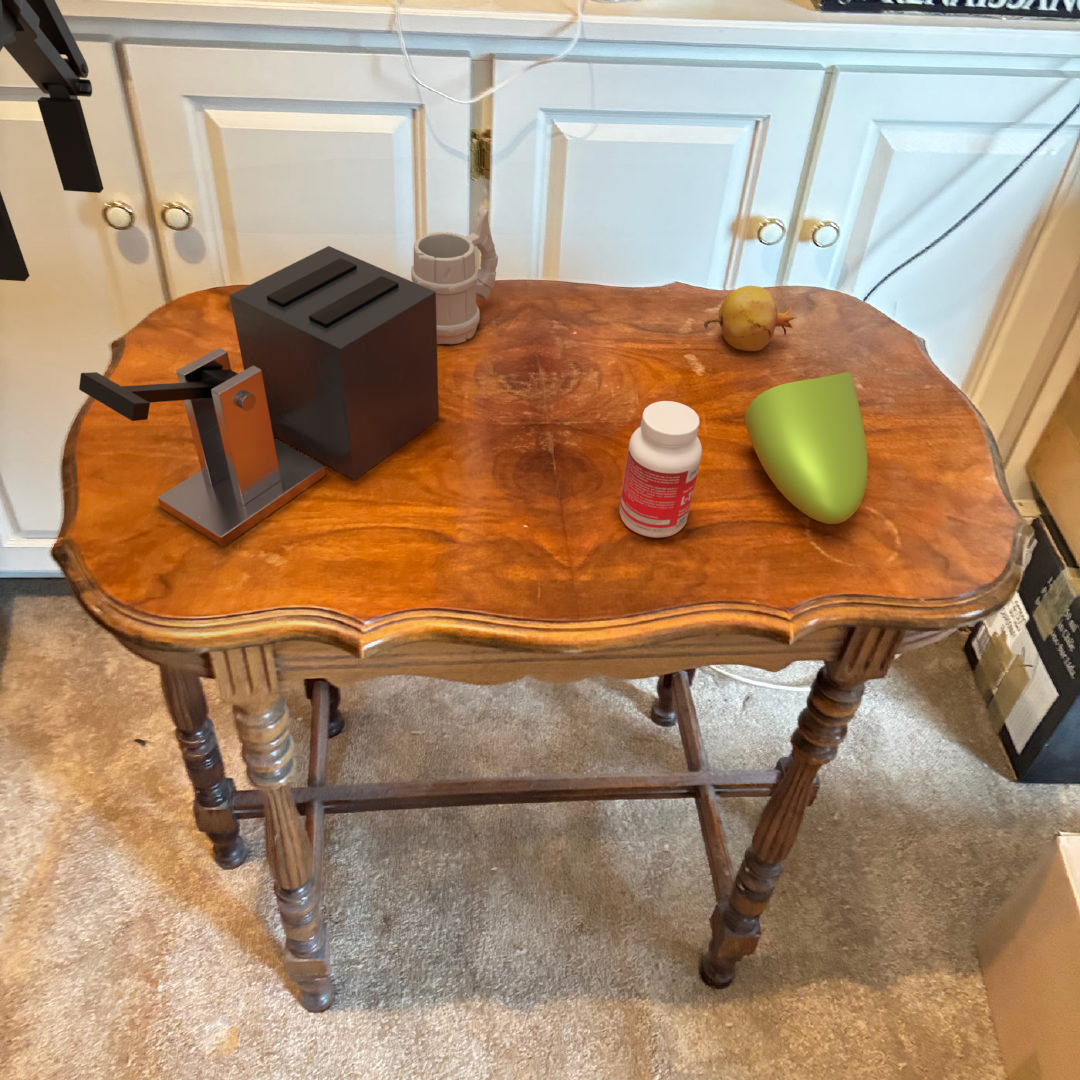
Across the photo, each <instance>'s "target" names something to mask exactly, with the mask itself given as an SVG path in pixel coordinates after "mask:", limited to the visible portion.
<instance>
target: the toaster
mask: <svg viewBox="0 0 1080 1080" xmlns="http://www.w3.org/2000/svg"><path fill="white" fill-rule="evenodd" d="M229 300H230V305H231V310H232V314H233V320H234V321H233V322H234V327H235V330H236V331H235V332H236V336H237V341H238V346H239V351H240V357H241V363H242V368H243V371H244V370H246V369H248V368H250V367H251V366H256V367H258V368H260V369H261V370H262V374H263V380H264V385H265V391H266V397H267V402H268V408H269V414H270V419H271V425H272V430H273V436H274V438H275V439H277V440H279V441H281V442H283V443H284V444H286V445H288V446H290V447H292V448H293V449H295V450H297V451H299V452H301V453H302V454H304V455H306V456H308V457H310V458H311V459H313V460H315V461H317V462H319V463H321V464H322V465H324V466H327V467H328V468H331V469H333V470H334V471H336V472H338V473H340V474H341V475H343V476H345V477H347V478H348V479H351V480H352V481H354V482H355V481H356V480H358V479H359V478H360V477H362V476H363V475H364V474H366V473H367V472H368V471H370V470H371V469H373V468H374V467H376V466H377V465H378V464H380V463H381V462H382V461H384V460H385V459H386V458H388V457H389V456H391V455H392V454H393V453H395V452H396V451H397V450H399V449H400V448H402V447H403V446H404V445H405V444H407V443H409V442H410V441H411V440H412V439H414V438H415V437H416V436H419V434H421V433H423V431H425V430H426V429H428V428H429V427H431V426H432V425H433V424H435V423H436V422H437V421H439V420H440V414H439V413H440V412H439V375H438V374H439V371H438V344H437V324H436V292H435V291H433V290H430V289H428V288H426V287H423V286H421V285H419V284H416V283H414V282H413V281H412V280H409V279H407V278H404V277H402V276H399V275H398V274H395V273H392V272H391V271H388V270H386V269H384V268H382V267H379V266H376V265H374V264H372V263H370V262H368V261H365V260H362V259H360V258H358V257H356V256H353V255H351V254H349V253H346V252H345V251H341V250H340V249H337V248H334V247H332V246H330V245H328V246H326V247H323V248H321V249H319V250H317V251H315V252H313V253H311V254H309V255H307V256H305V257H303V258H301V259H299V260H298V261H296V262H293V263H291V264H289V265H287V266H286V267H285V266H284V267H283V268H282V269H279V270H277V271H275V272H273V273H271V274H269V275H267V276H265V277H262V278H261V279H259V280H257V281H255V282H252V283H251V284H249V285H247V286H245V287H243V288H241V289H238V290H237V291H235V292H233V293H230V294H229Z"/></svg>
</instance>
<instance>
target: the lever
mask: <svg viewBox="0 0 1080 1080" xmlns="http://www.w3.org/2000/svg"><path fill="white" fill-rule="evenodd" d="M237 374H239V373H238V372H235V371H234V370H232V369H231V370H230V369H227V370H206V371H203V373H202V379H201V382H186V383H179V382H172V383H171V382H170V383H153V384H138V385H122V386H121V385H120V384H118V383H117V382H115V381H113V380H111V379H109V378H107V377H106V376H104V375H102V373H99V372H96V371H94V372H81V373H80V377H79V385H78V390H79V391H81V392H82V393H84V394H85V395H87V396H89V397H91V398H92V399H94V400H96V401H98V402H99V403H101V404H102V405H104V406H106V407H108V408H109V409H110V410H112V411H114V412H115V413H118V414H119V415H122V416H123V417H125V418H126V419H128V420H129V421H131V422H135V421H136V422H137V421H147V420H148V419H149V413H150V408H151V407H150V405H151V404H153V403H164V402H176V401H184V400H191V399H200V400H202V401H204V402H206V403H208V404H209V405H211V406H213V407H215V406H214V402H213V397H212V393H211V389H212V388H214V387H216V386H218V385H219V384H221V383H223V382H225V381H227V380H228V379H230V378H232V377H234V376H235V375H237Z"/></svg>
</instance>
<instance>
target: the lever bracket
mask: <svg viewBox="0 0 1080 1080" xmlns="http://www.w3.org/2000/svg"><path fill="white" fill-rule="evenodd" d="M228 353H229V352H228V351H227V350H225V349H223V348H221V347H218V348H216V349H214V350H212V351H210V352H209V353H206V354H204V355H203V356H201V357H199V358H197V359H195V360H193V361H191V362H189V363H188V364H186V365H184V366H182V367H180V368H179V369H176V375H177V379H178V383H186V382H201V379H202V373H203V371H206V370H227V369H230V370H232V368H231V363H230V359H229V354H228ZM211 393H212V397H213V402H214V406H215V407H213V406H211V405H209V404H208V403H206V402H204V401H202V400H200V399H191V400H183V403H184V407H185V411H186V415H187V420H188V423H189V426H190V431H191V434H192V438H193V443H194V446H195V451H196V454H197V458H198V462H199V466H200V470H199V471H197V472H196V473H194V474H193V475H191V476H189V477H188V478H186V479H185V480H183V481H181V482H180V483H178V484H177V485H175V486H173V487H172V488H170V489H168V490H167V491H165V492H164V493H162V494H160V495H159V496H158V497H157V501H158V504H159V507H160V508H161V509H162V510H164V511H165V512H167V513H169V514H170V515H172V516H173V517H174V518H177V519H178V520H180V521H181V522H183V523H184V524H186V525H188V526H189V527H190V528H192V529H194V530H195V531H196V532H199V533H200V534H201V535H203V536H205V537H206V538H208V539H210V540H211V541H212V542H215V543H216V544H217V545H218V546H221V547H222V548H225V547H226V546H227V545H229V544H230V543H232V542H233V541H234V540H236V539H237V538H239V537H240V536H242V535H243V534H245V533H246V532H248V531H249V530H250V529H252V528H253V527H255V526H257V524H259V523H260V522H262V521H263V520H265V519H266V518H267V517H269V516H270V515H271V514H273V513H275V512H276V511H277V510H278V509H280V508H282V507H283V506H284V505H286V504H287V503H289V502H290V501H292V500H293V499H294V498H296V497H298V496H299V495H300V494H301V493H303V492H304V491H305V490H307V489H308V488H310V487H311V486H313V485H314V484H316V483H317V482H319V481H320V480H321V479H323V478H324V477H326V475H327V474H326V467H325V464H323V463H322V462H320V461H318V460H316V459H314V458H312V457H311V456H309V455H307V454H305V453H303V452H302V451H300V450H298V449H296V448H294V447H293V446H291V445H289V444H287V443H285V442H283V441H282V440H280V439H278V438H276V437H274V436H273V430H272V425H271V419H270V414H269V408H268V402H267V397H266V391H265V385H264V380H263V374H262V370H261V369H260V368H258V367H256V366H251V367H250V368H248V369H246V370H244V369H243V371H240V372H239V373H238V374H237V375H235V376H234V377H232V378H230V379H228V380H227V381H225V382H223V383H221V384H219V385H218V386H216V387H214V388H212V389H211Z"/></svg>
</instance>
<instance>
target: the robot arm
mask: <svg viewBox="0 0 1080 1080" xmlns="http://www.w3.org/2000/svg"><path fill="white" fill-rule="evenodd" d="M3 48H4V49H5V50H6V51H7V53H9V55H10V56H11V57H12V58H13V59H14V61H15V62H16V63H17V64H18V65H19V66H20V68H21V69H22V71H24V73H25V74H26V75H27V76H28V77H29V78H30V79H31V81H32V82H33V83H34V84H35V85H36V86H37V87H38V89H39V90H40V91H41V92H42V93H43V94H47V95H49V96H41V97H40V98H38V99H37V101H36V102H37V104H38V108H39V111H40V114H41V115H40V116H41V118H42V121H43V126H44V129H45V131H46V136H47V139H48V141H49V145H50V149H51V151H52V156H53V159H54V162H55V165H56V168H57V172H58V175H59V178H60V182H61V185H62V189H63V192H64V191H66V192H78V193H79V192H80V193H94V194H96V193H97V194H101V193H102V191H104V185H103V182H102V178H101V174H100V170H99V166H98V162H97V158H96V155H95V152H94V146H93V144H92V140H91V137H90V133H89V129H88V125H87V121H86V118H85V114H84V111H83V110H84V109H83V106H82V103H81V99H79V98H78V97H87V98H90V97H92V95H93V85H92V81H91V80H90V79H87V78H88V76H89V70H90V69H89V67H88V64H87V61H86V59H85V57H84V55H83V53H82V51H81V49H80V47H79V45H78V43H77V41H76V40H75V37H74V35H73V34H72V31H71V28H69V25H68V24H67V22H66V19H65V18H64V15H63V13H62V11H61V10H60V8H59V6H58V3H57V2H56V0H0V52H1V51H2V49H3ZM63 56H66V57H63ZM3 197H4V196H3V195H2V192H1V190H0V281H11V282H12V281H13V282H14V281H16V282H26V281H27V280H28V279H29V277H30V274H29V270H28V267H27V263H26V261H25V259H24V255H23V252H22V249H21V247H20V243H19V240H18V238H17V236H16V235H17V234H16V232H15V229H14V226H13V223H12V220H11V217H10V214H9V212H8V210H7V206H6V203H5V201H4V198H3Z"/></svg>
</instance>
